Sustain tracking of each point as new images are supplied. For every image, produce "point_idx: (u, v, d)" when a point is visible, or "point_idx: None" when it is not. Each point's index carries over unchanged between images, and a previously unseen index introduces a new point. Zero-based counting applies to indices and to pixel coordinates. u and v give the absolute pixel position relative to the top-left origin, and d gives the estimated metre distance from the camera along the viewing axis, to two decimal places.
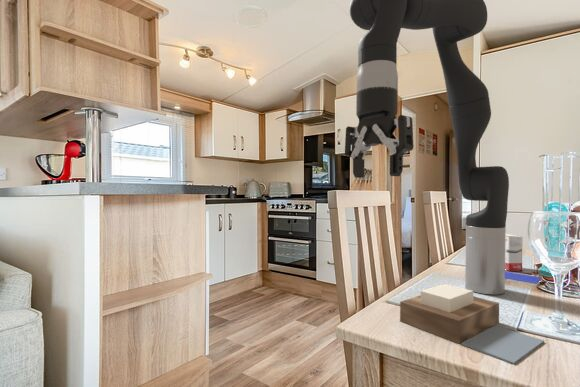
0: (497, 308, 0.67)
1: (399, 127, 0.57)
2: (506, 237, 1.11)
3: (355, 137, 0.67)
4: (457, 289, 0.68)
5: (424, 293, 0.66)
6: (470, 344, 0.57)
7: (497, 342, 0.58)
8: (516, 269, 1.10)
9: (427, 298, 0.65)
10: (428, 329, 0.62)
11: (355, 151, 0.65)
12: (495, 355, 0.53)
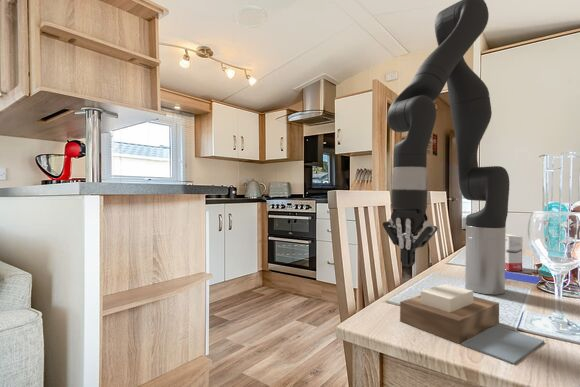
0: (497, 308, 0.67)
1: (423, 233, 0.70)
2: (506, 237, 1.11)
3: (394, 227, 0.77)
4: (457, 289, 0.68)
5: (424, 293, 0.66)
6: (470, 344, 0.57)
7: (497, 342, 0.58)
8: (516, 269, 1.10)
9: (427, 298, 0.65)
10: (428, 329, 0.62)
11: (401, 242, 0.74)
12: (495, 355, 0.53)
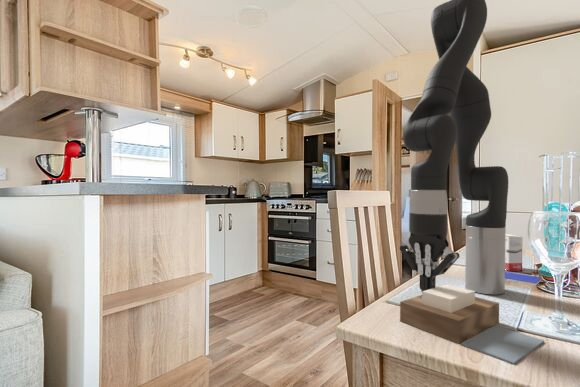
0: (497, 308, 0.67)
1: (444, 260, 0.66)
2: (506, 237, 1.11)
3: (411, 252, 0.73)
4: (458, 289, 0.67)
5: (425, 293, 0.66)
6: (470, 344, 0.57)
7: (497, 342, 0.58)
8: (516, 269, 1.10)
9: (428, 298, 0.65)
10: (428, 329, 0.62)
11: (420, 268, 0.70)
12: (495, 355, 0.53)
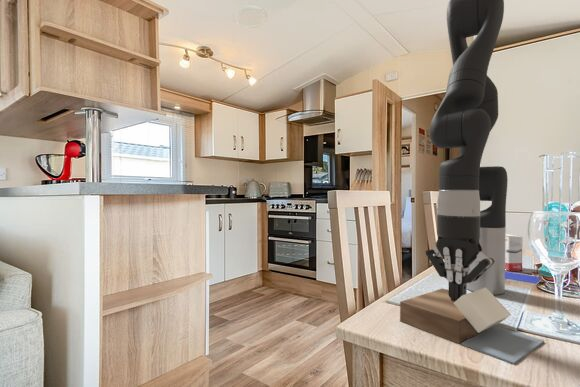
0: None
1: (477, 266, 0.61)
2: (506, 237, 1.11)
3: (439, 256, 0.68)
4: (497, 305, 0.62)
5: (464, 300, 0.59)
6: (470, 344, 0.57)
7: (497, 342, 0.58)
8: (516, 269, 1.10)
9: (464, 305, 0.59)
10: (428, 329, 0.62)
11: (449, 274, 0.65)
12: (495, 355, 0.53)
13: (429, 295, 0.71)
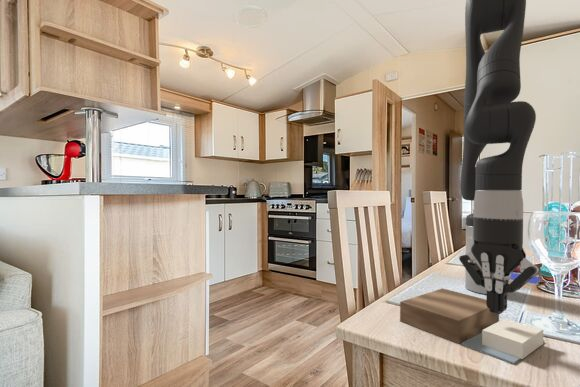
0: None
1: (522, 274, 0.55)
2: None
3: (474, 263, 0.62)
4: None
5: (516, 355, 0.53)
6: (470, 344, 0.57)
7: None
8: (516, 269, 1.10)
9: (511, 348, 0.53)
10: (428, 329, 0.62)
11: (488, 282, 0.59)
12: (495, 355, 0.53)
13: (429, 295, 0.71)
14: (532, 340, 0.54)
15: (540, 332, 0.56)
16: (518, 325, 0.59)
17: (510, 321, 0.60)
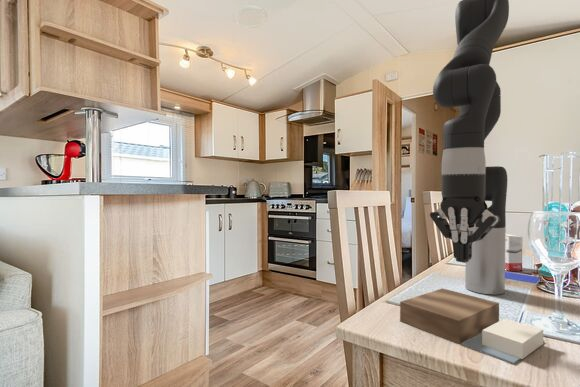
0: (497, 308, 0.67)
1: (483, 224, 0.60)
2: (506, 237, 1.11)
3: (443, 218, 0.67)
4: None
5: (516, 355, 0.53)
6: (470, 344, 0.57)
7: None
8: (516, 269, 1.10)
9: (511, 348, 0.53)
10: (428, 329, 0.62)
11: (454, 234, 0.64)
12: (495, 355, 0.53)
13: (429, 295, 0.71)
14: (532, 340, 0.54)
15: (540, 332, 0.56)
16: (518, 325, 0.59)
17: (510, 321, 0.60)
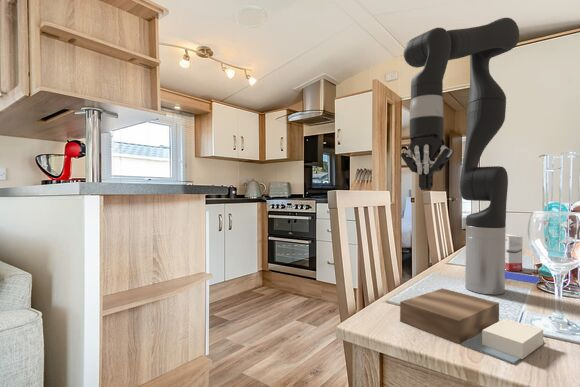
0: (497, 308, 0.67)
1: (440, 155, 0.75)
2: (506, 237, 1.11)
3: (411, 157, 0.82)
4: None
5: (516, 355, 0.53)
6: (470, 344, 0.57)
7: None
8: (516, 269, 1.10)
9: (511, 348, 0.53)
10: (428, 329, 0.62)
11: (419, 168, 0.79)
12: (495, 355, 0.53)
13: (429, 295, 0.71)
14: (532, 340, 0.54)
15: (540, 332, 0.56)
16: (518, 325, 0.59)
17: (510, 321, 0.60)
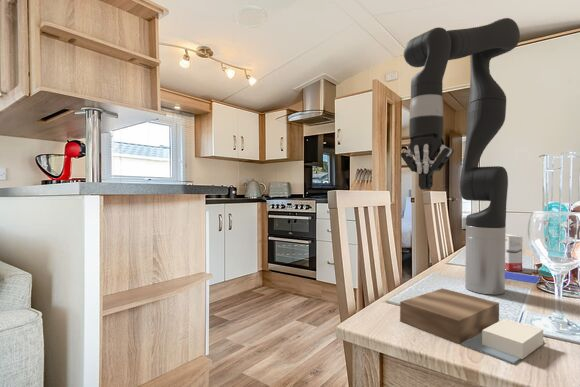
0: (497, 308, 0.67)
1: (440, 155, 0.75)
2: (506, 237, 1.11)
3: (411, 157, 0.82)
4: None
5: (516, 355, 0.53)
6: (470, 344, 0.57)
7: None
8: (516, 269, 1.10)
9: (511, 348, 0.53)
10: (428, 329, 0.62)
11: (419, 167, 0.79)
12: (495, 355, 0.53)
13: (429, 295, 0.71)
14: (532, 340, 0.54)
15: (540, 332, 0.56)
16: (518, 325, 0.59)
17: (510, 321, 0.60)
